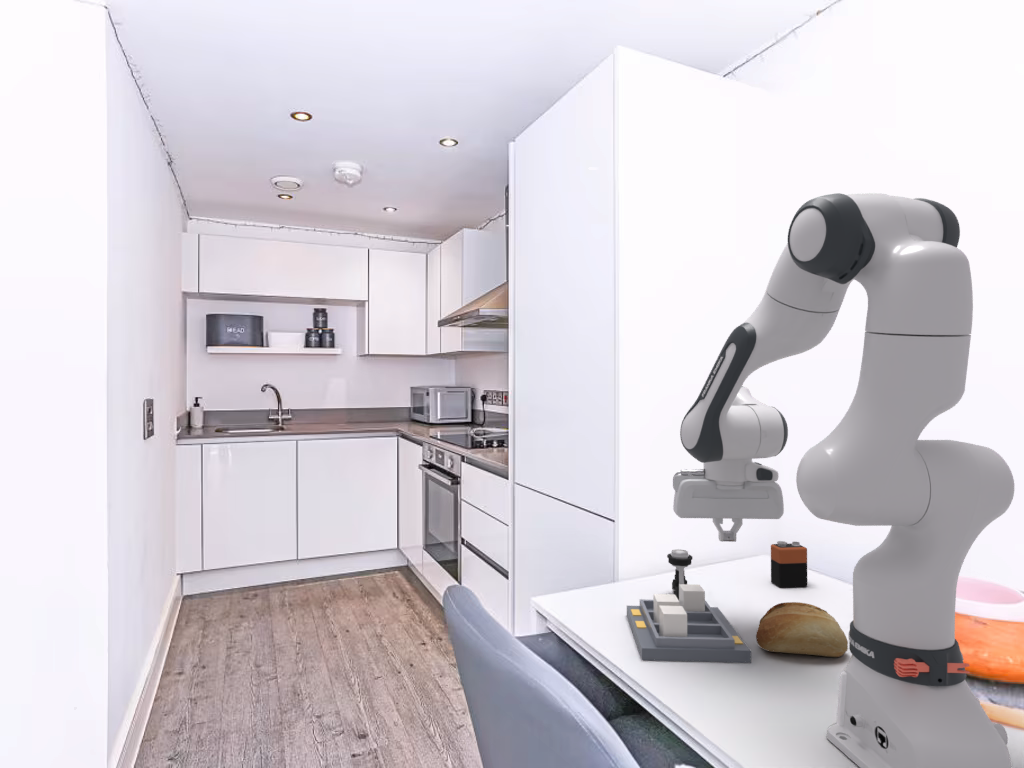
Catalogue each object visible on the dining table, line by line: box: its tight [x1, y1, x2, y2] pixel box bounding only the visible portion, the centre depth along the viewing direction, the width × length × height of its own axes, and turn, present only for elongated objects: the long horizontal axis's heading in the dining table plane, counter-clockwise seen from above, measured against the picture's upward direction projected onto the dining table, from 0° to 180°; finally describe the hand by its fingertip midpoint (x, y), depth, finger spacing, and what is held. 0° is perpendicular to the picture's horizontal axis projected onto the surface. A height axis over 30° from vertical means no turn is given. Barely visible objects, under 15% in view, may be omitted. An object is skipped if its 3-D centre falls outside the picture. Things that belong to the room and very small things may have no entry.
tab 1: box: [652, 593, 680, 623], centre depth 111 cm, size 4×4×5 cm
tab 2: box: [659, 606, 687, 637], centre depth 105 cm, size 4×4×5 cm
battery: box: [770, 540, 808, 589], centre depth 140 cm, size 4×7×10 cm, turn 96°
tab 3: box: [679, 583, 706, 612], centre depth 117 cm, size 4×4×5 cm
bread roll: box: [755, 601, 849, 658], centre depth 105 cm, size 10×15×8 cm, turn 86°
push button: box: [666, 548, 693, 600], centre depth 133 cm, size 7×5×10 cm
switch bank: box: [626, 598, 752, 664], centre depth 111 cm, size 20×18×4 cm
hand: (727, 540), depth 117 cm, fingers closed
